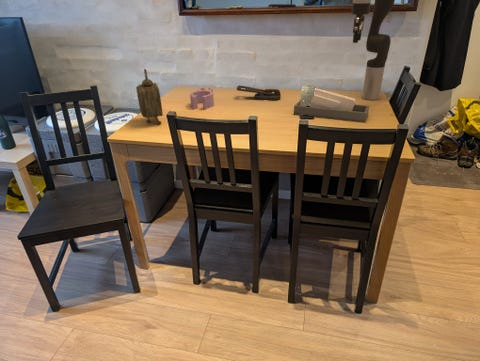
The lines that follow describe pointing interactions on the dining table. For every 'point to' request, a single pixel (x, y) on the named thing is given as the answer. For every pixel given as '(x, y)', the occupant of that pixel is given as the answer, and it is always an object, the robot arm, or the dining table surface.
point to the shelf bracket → (330, 100)
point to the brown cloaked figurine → (149, 99)
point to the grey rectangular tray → (334, 112)
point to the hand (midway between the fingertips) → (356, 41)
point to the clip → (202, 98)
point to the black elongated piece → (262, 93)
